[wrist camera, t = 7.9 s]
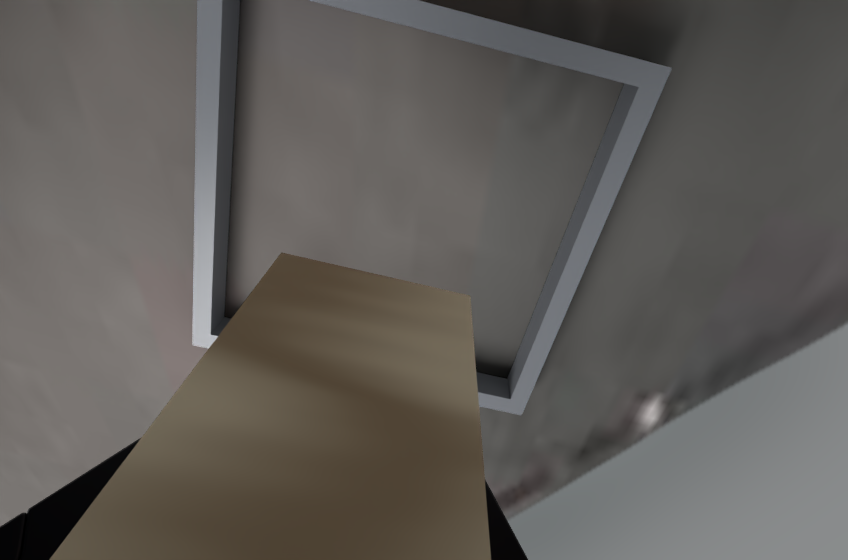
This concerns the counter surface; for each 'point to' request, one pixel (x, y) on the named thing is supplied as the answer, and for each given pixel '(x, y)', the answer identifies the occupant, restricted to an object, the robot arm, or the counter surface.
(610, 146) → the grey picture frame
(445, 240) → the counter surface
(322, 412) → the birch label block
